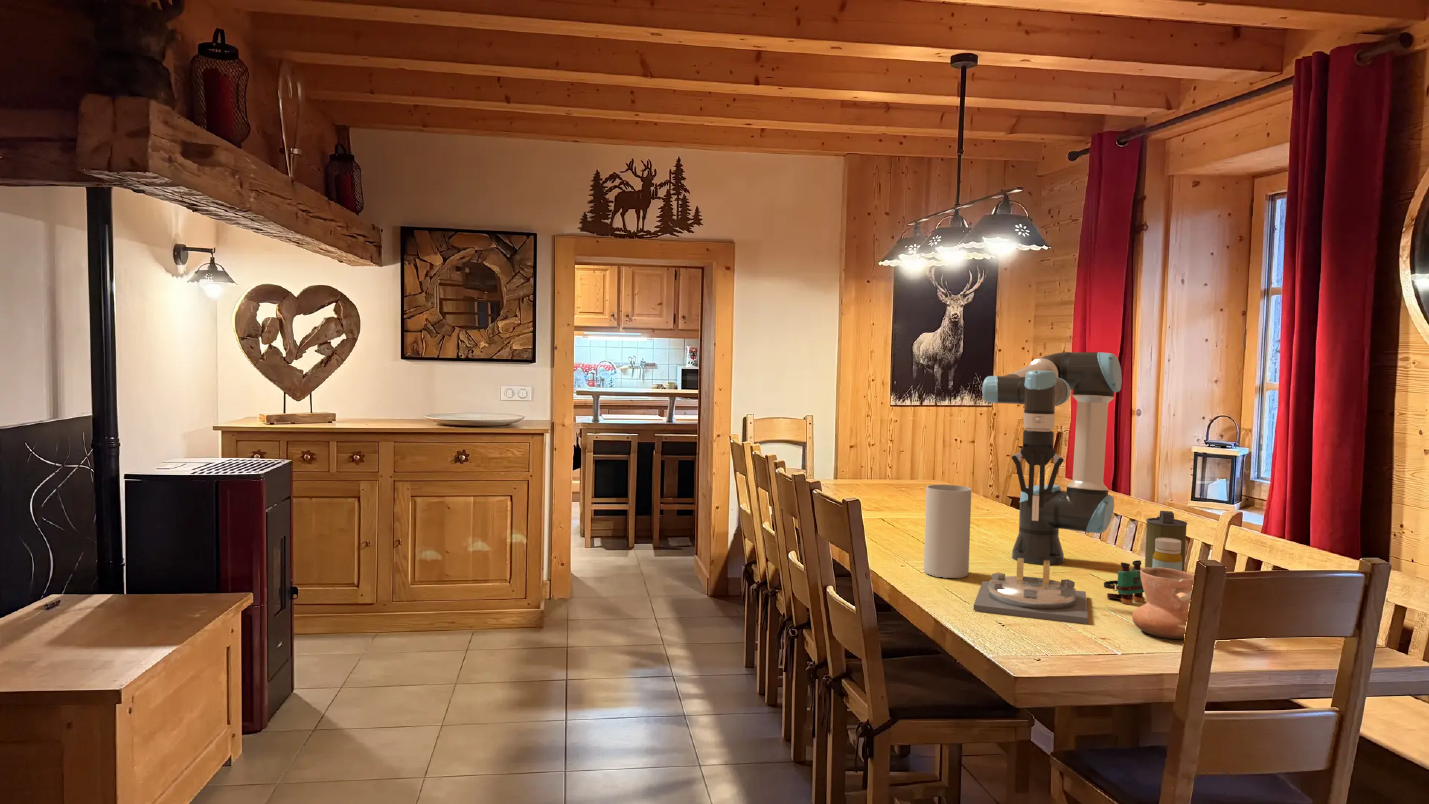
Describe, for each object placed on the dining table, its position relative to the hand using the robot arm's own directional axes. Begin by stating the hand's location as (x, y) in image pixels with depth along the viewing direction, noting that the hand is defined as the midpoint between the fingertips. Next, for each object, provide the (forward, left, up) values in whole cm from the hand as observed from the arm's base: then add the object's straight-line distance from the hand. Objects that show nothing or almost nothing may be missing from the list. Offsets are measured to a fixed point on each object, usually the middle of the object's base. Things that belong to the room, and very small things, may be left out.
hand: (1035, 519), depth 235 cm
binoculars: (-8, +22, -21) cm, 31 cm away
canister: (-34, +34, -21) cm, 52 cm away
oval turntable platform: (+7, 0, -19) cm, 20 cm away
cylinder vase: (-16, -24, -21) cm, 35 cm away
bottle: (-17, +33, -21) cm, 42 cm away
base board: (+7, 0, -20) cm, 22 cm away
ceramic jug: (+20, +30, -21) cm, 41 cm away
